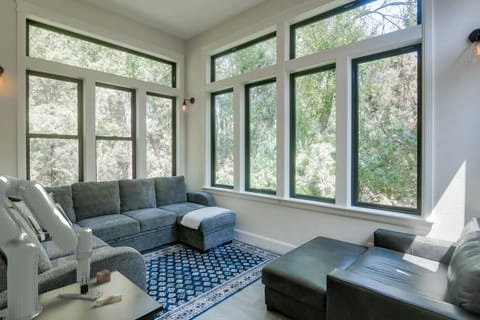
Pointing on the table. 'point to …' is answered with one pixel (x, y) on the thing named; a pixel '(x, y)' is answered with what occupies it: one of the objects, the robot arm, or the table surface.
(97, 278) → the walnut block
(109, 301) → the rail
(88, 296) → the caliper
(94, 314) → the table surface
